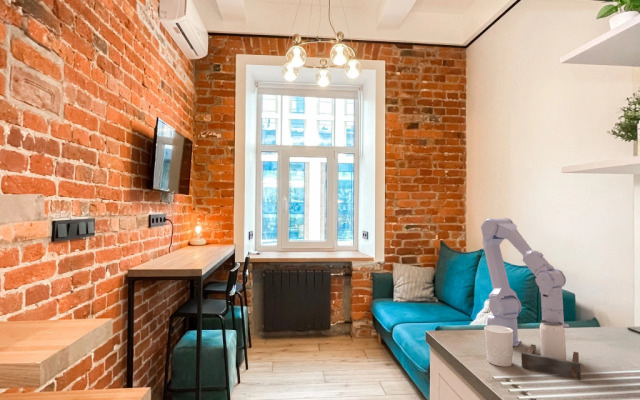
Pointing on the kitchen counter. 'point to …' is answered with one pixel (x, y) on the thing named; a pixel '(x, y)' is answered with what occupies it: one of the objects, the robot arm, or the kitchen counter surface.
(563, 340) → the can
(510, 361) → the white cup
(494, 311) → the robot arm
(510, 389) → the kitchen counter surface
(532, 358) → the bay
